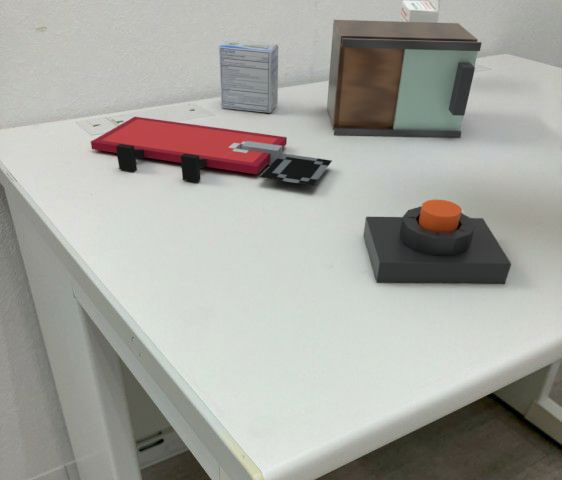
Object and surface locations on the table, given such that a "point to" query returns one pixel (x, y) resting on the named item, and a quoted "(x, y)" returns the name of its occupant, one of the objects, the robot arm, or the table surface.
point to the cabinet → (381, 71)
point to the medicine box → (249, 75)
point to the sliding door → (434, 89)
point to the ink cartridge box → (420, 11)
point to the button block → (434, 251)
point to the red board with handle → (207, 150)
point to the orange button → (439, 215)
